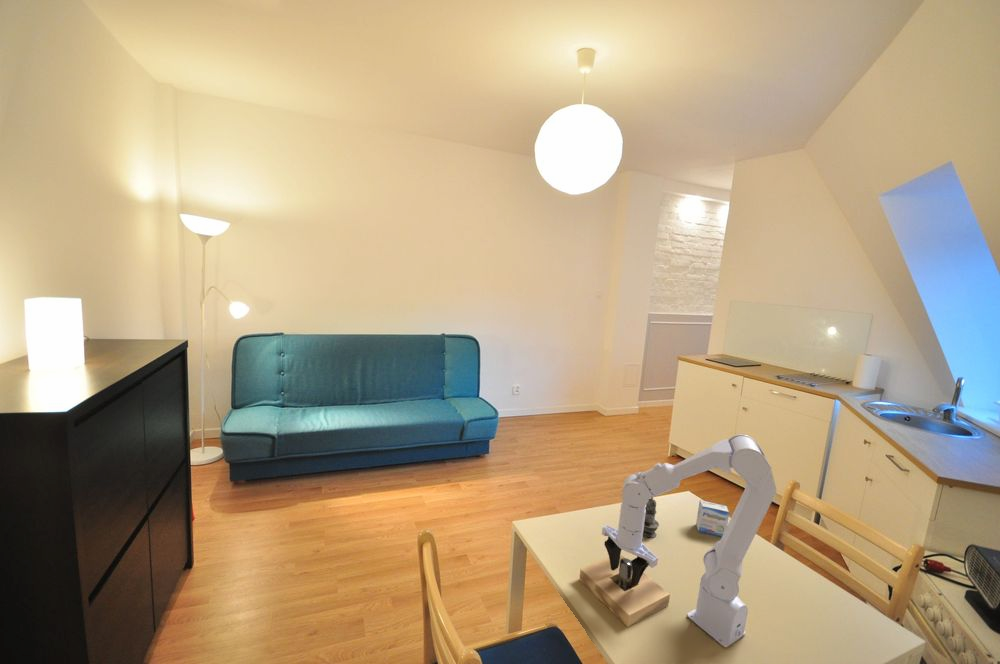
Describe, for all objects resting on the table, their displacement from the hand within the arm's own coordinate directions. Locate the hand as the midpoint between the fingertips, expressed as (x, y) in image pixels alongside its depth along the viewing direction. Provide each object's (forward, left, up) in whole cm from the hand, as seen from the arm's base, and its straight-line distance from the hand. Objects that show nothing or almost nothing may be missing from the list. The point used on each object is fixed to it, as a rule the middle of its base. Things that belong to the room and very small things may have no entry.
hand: (624, 575), depth 102 cm
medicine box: (+6, -46, -5) cm, 47 cm away
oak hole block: (0, 0, -4) cm, 4 cm away
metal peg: (0, 0, -4) cm, 4 cm away
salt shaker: (+14, -26, -5) cm, 30 cm away
